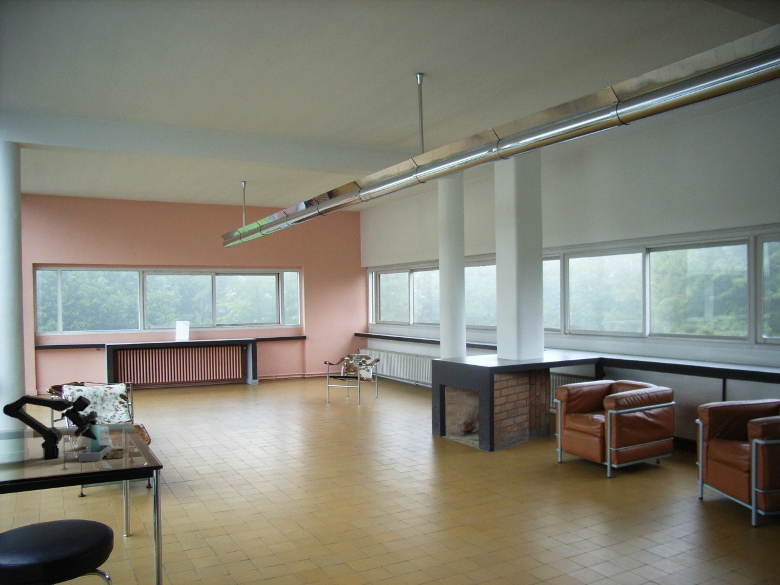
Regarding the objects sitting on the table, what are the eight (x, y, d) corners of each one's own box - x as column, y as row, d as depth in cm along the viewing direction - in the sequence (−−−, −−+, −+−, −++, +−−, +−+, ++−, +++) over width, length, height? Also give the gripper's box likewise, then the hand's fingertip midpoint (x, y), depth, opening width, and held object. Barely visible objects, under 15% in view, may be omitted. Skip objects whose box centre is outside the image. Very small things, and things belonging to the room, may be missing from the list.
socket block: (106, 458, 326) (106, 452, 326) (111, 454, 334) (111, 448, 334) (122, 457, 327) (122, 452, 327) (127, 453, 335) (127, 448, 335)
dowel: (92, 452, 326) (92, 427, 326) (89, 450, 329) (89, 426, 329) (101, 450, 329) (101, 426, 329) (98, 449, 332) (98, 424, 332)
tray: (78, 461, 320) (78, 453, 320) (90, 452, 337) (90, 445, 337) (100, 460, 321) (100, 453, 321) (111, 452, 338) (111, 444, 338)
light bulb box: (102, 444, 356) (102, 425, 356) (109, 445, 352) (109, 426, 352) (84, 448, 347) (84, 428, 347) (91, 449, 344) (91, 430, 344)
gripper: (80, 410, 319) (103, 431, 321) (93, 403, 338) (114, 423, 339) (64, 425, 318) (87, 446, 320) (78, 418, 337) (99, 438, 338)
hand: (98, 438), depth 329 cm, fingers closed on dowel, 4 cm apart
